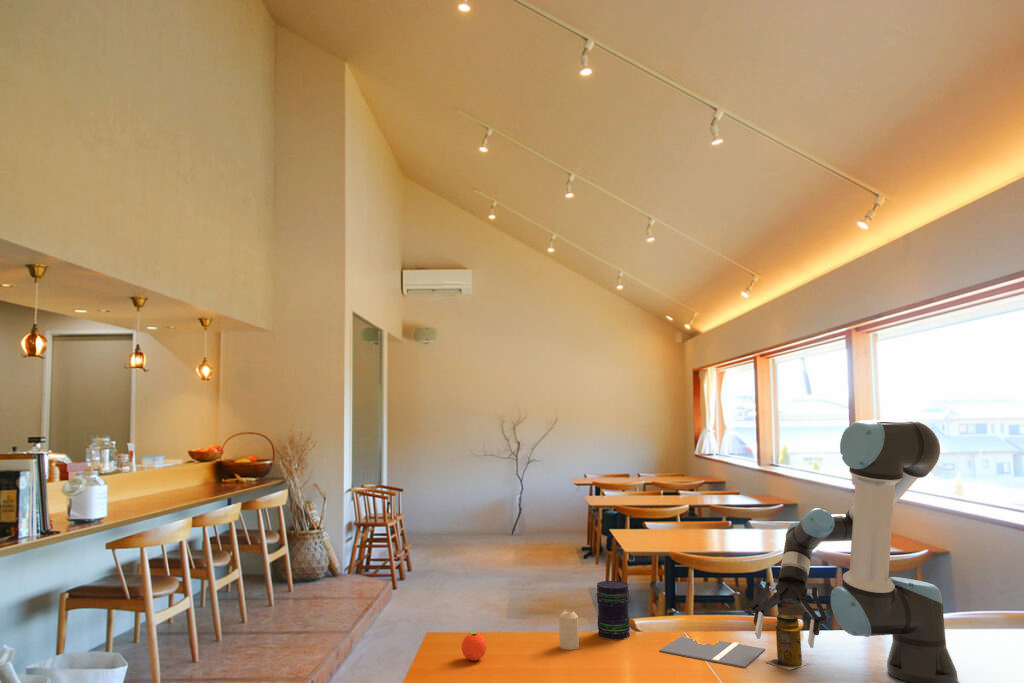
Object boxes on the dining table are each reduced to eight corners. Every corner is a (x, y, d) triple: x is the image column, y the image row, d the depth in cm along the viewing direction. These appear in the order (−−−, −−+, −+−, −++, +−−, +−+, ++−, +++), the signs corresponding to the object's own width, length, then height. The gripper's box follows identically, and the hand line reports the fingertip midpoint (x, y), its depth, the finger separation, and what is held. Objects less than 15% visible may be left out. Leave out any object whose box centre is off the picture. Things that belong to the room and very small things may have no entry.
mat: (765, 650, 190) (765, 647, 190) (745, 668, 176) (745, 665, 176) (684, 635, 204) (683, 633, 204) (659, 651, 190) (659, 648, 190)
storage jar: (636, 637, 203) (634, 586, 205) (608, 641, 199) (606, 589, 201) (619, 628, 212) (618, 579, 214) (591, 632, 208) (590, 582, 211)
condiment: (809, 664, 178) (806, 617, 180) (789, 670, 174) (786, 622, 175) (784, 657, 184) (782, 611, 186) (765, 663, 180) (762, 616, 181)
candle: (556, 645, 196) (555, 610, 197) (572, 643, 198) (571, 607, 199) (565, 651, 191) (564, 614, 192) (582, 648, 193) (581, 612, 194)
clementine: (457, 656, 187) (457, 629, 188) (481, 653, 189) (481, 627, 190) (465, 665, 179) (465, 637, 180) (490, 662, 182) (490, 634, 183)
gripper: (844, 585, 188) (837, 657, 174) (753, 575, 202) (740, 640, 188) (839, 569, 184) (831, 640, 170) (747, 559, 199) (732, 624, 185)
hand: (783, 640), depth 179 cm, fingers open, 13 cm apart
